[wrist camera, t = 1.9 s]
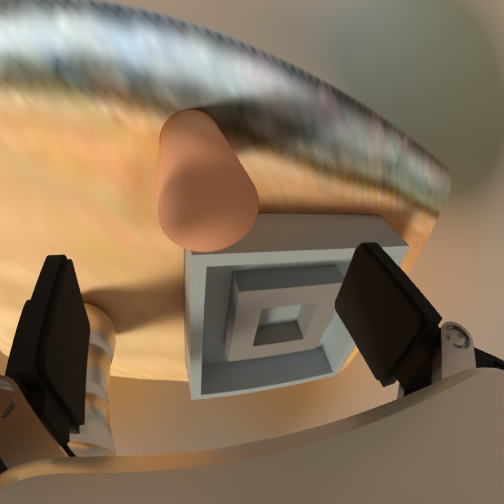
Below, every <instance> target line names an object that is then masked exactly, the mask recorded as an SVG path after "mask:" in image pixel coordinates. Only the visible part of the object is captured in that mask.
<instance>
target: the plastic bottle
mask: <svg viewBox="0 0 504 504" xmlns="http://www.w3.org/2000/svg"><path fill="white" fill-rule="evenodd" d="M84 306H85V309H86V312H87V316H88V319H89V322H90V340H89V350H88V361H87V376H86V396H85V423H84V425H80V434H70V442H69V443H68V445H69V446H70V447H71V449H72V450H73V451H74V452H75V454H76V455H77V456H78V457H92V456H116V450H115V446H114V441H113V436H112V431H111V427H110V417H109V408H108V404H109V403H108V387H109V377H110V367H111V363H112V359H113V356H114V350H115V344H116V339H115V332H114V327H113V324H112V322H111V320H110V319H109V317H108V316H107V315H106V314H105V313H104V312H103V311H102V310H101V309H99V308H98V307H96V306H94V305H91V304H88V303H84Z"/></svg>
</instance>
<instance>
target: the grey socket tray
mask: <svg viewBox="0 0 504 504" xmlns="http://www.w3.org/2000/svg"><path fill="white" fill-rule="evenodd" d="M363 242H376V243H378V244H379V245H380V246H381V247H382V248H383V250H384V251H385V252H386V253H387V254H388V255H389V256H390V257H391V258H392V259H393V261H394V262H395V263H396V264H397V265H398V266H400V264H401V262H402V260H403V258H404V256H405V254H406V252H407V249H408V247H409V245H408V244H407V243H406V242H405V241H404V240H403V239H402V238H401V237H400V236H399V235H398V234H397V233H396V232H395V230H394V229H393V228H392V227H391V226H390V225H389V224H388V223H387V222H386V221H385V220H384V219H383V218H382V217H381V216H380V215H355V214H286V213H258V214H257V217H256V220H255V222H254V224H253V226H252V227H251V229H250V230H249V231H248V232H247V234H246V235H245V236H244V237H242V238H241V239H240V240H239V241H237V242H236V243H234V244H232V245H231V246H229V247H226V248H224V249H221V250H217V251H211V252H197V251H191V250H188V249H185V248H184V325H185V358H186V368H187V375H188V381H189V386H190V392H191V398H192V400H196V399H206V398H214V397H222V396H230V395H237V394H244V393H250V392H257V391H262V390H269V389H274V388H279V387H285V386H290V385H295V384H299V383H304V382H308V381H314V380H318V379H322V378H326V377H331V376H335V375H337V374H338V373H339V371H340V370H341V368H342V367H343V365H344V363H345V362H346V360H347V359H348V357H349V356H350V354H351V352H352V351H353V349H354V347H355V346H356V344H355V342H354V341H353V339H352V337H351V336H350V334H349V332H348V330H347V329H346V327H345V325H344V324H343V322H342V320H341V319H340V317H339V315H338V314H337V312H336V310H335V300H336V298H337V295H338V293H339V290H340V288H341V285H342V283H343V280H344V278H345V275H346V272H347V270H348V267H349V265H350V262H351V259H352V257H353V254H354V251H355V249H356V248H357V247H358V246H359V245H360V244H361V243H363Z"/></svg>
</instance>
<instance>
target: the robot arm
mask: <svg viewBox="0 0 504 504" xmlns="http://www.w3.org/2000/svg"><path fill="white" fill-rule="evenodd" d="M335 310H336V312H337V314H338V315H339V317H340V319H341V320H342V322H343V324H344V325H345V327H346V329H347V330H348V332H349V334H350V336H351V337H352V339H353V341H354V342H355V344H356V346H357V347H358V349H359V351H360V353H361V354H362V356H363V357H364V359H365V361H366V363H367V365H368V366H369V368H370V370H371V372H372V373H373V375H374V377H375V378H376V379H377V380H379V381H380V382H381V384H382V386H383V387H385V386H388V385H391V384H394V383H395V382H396V380H398V381H399V383H400V384H399V389H398V395H397V400H394V401H392V402H389V403H387V404H384V405H381V406H379V407H376V408H373V409H370V410H368V411H365V412H362V413H359V414H357V415H354V416H350V417H347V418H345V419H341V420H338V421H335V422H332V423H328V424H325V425H321V426H318V427H314V428H311V429H307V430H303V431H300V432H296V433H291V434H288V435H283V436H279V437H275V438H270V439H265V440H260V441H255V442H250V443H245V444H239V445H234V446H227V447H221V448H214V449H206V450H198V451H190V452H179V453H169V454H168V453H167V454H155V455H139V456H92V457H78V456H77V455H76V454H75V452H74V451H73V450H72V449H71V447H70V446H69V445H68V443H69V442H70V434H80V425H84V423H85V396H86V376H87V361H88V350H89V340H90V322H89V319H88V316H87V312H86V309H85V306H84V302H83V299H82V296H81V292H80V288H79V285H78V281H77V277H76V273H75V269H74V265H73V262H72V260H71V259H67V257H66V256H65V255H48V256H47V257H46V259H45V262H44V264H43V267H42V270H41V272H40V275H39V278H38V280H37V283H36V286H35V289H34V291H33V294H32V297H31V300H27V301H26V302H25V305H24V307H23V310H22V313H21V316H20V320H19V323H18V326H17V329H16V333H15V336H14V340H13V344H12V347H11V351H10V355H9V359H8V364H7V369H6V372H5V376H4V375H0V504H504V361H503V360H501V359H499V358H497V357H495V356H493V355H490V354H488V353H486V352H484V351H481V350H479V349H477V348H475V347H474V345H473V340H472V337H471V335H470V334H469V332H468V331H467V330H466V329H465V328H464V327H462V326H461V325H459V324H458V323H455V322H446V323H444V324H443V325H442V327H441V328H439V326H438V324H439V323H440V321H441V320H442V317H441V316H440V315H439V313H438V312H437V311H436V310H435V308H434V307H433V306H432V305H431V304H430V302H429V301H428V300H427V299H426V298H425V296H424V295H423V294H422V293H421V292H420V290H419V289H418V288H417V287H416V286H415V284H414V283H413V282H412V281H411V280H410V279H409V277H408V276H407V275H406V274H405V273H404V272H403V271H402V269H401V268H400V267H399V266H398V265H397V264H396V263H395V262H394V261H393V259H392V258H391V257H390V256H389V255H388V254H387V253H386V252H385V251H384V250H383V248H382V247H381V246H380V245H379V244H378V243H376V242H363V243H361V244H360V245H359V246H358V247H357V248H356V249H355V251H354V254H353V257H352V259H351V262H350V265H349V267H348V270H347V272H346V275H345V278H344V280H343V283H342V285H341V288H340V290H339V293H338V295H337V298H336V300H335Z"/></svg>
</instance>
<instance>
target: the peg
mask: <svg viewBox="0 0 504 504" xmlns="http://www.w3.org/2000/svg"><path fill="white" fill-rule="evenodd" d="M258 210H259V198H258V193H257V190H256V188H255V186H254V184H253V182H252V181H251V179H250V177H249V176H248V174H247V172H246V171H245V169H244V168H243V166H242V164H241V163H240V161H239V159H238V158H237V156H236V155H235V153H234V151H233V150H232V148H231V147H230V145H229V143H228V142H227V140H226V139H225V137H224V135H223V134H222V132H221V131H220V129H219V128H218V126H217V124H216V123H215V121H214V120H213V119H212V118H211V117H210V116H209V115H208V114H206V113H204V112H202V111H199V110H194V109H188V110H183V111H179V112H177V113H175V114H174V115H172V116H171V117H170V118H169V119H168V120H167V121H166V122H165V123H164V125H163V127H162V129H161V133H160V142H159V168H158V218H159V222H160V225H161V227H162V229H163V231H164V233H165V234H166V235H167V237H168V238H169V239H170V240H171V241H173V242H174V243H175V244H177V245H178V246H180V247H182V248H185V249H188V250H191V251H197V252H211V251H217V250H221V249H224V248H226V247H229V246H231V245H232V244H234V243H236V242H237V241H239V240H240V239H241V238H242V237H244V236H245V235H246V234H247V232H248V231H249V230H250V229H251V227H252V226H253V224H254V222H255V220H256V217H257V214H258Z"/></svg>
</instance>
